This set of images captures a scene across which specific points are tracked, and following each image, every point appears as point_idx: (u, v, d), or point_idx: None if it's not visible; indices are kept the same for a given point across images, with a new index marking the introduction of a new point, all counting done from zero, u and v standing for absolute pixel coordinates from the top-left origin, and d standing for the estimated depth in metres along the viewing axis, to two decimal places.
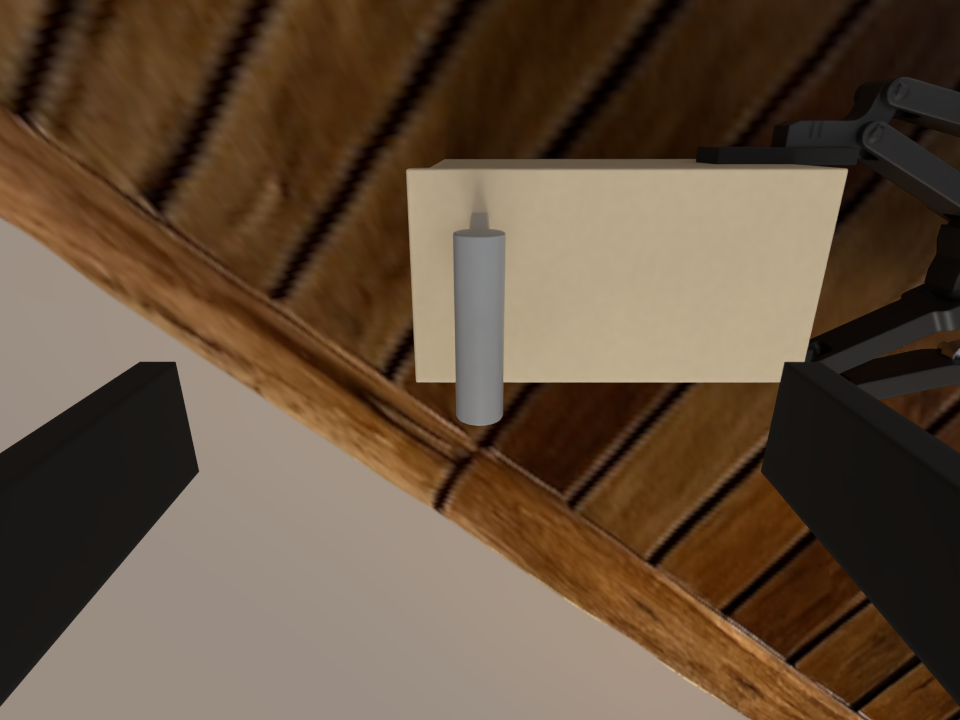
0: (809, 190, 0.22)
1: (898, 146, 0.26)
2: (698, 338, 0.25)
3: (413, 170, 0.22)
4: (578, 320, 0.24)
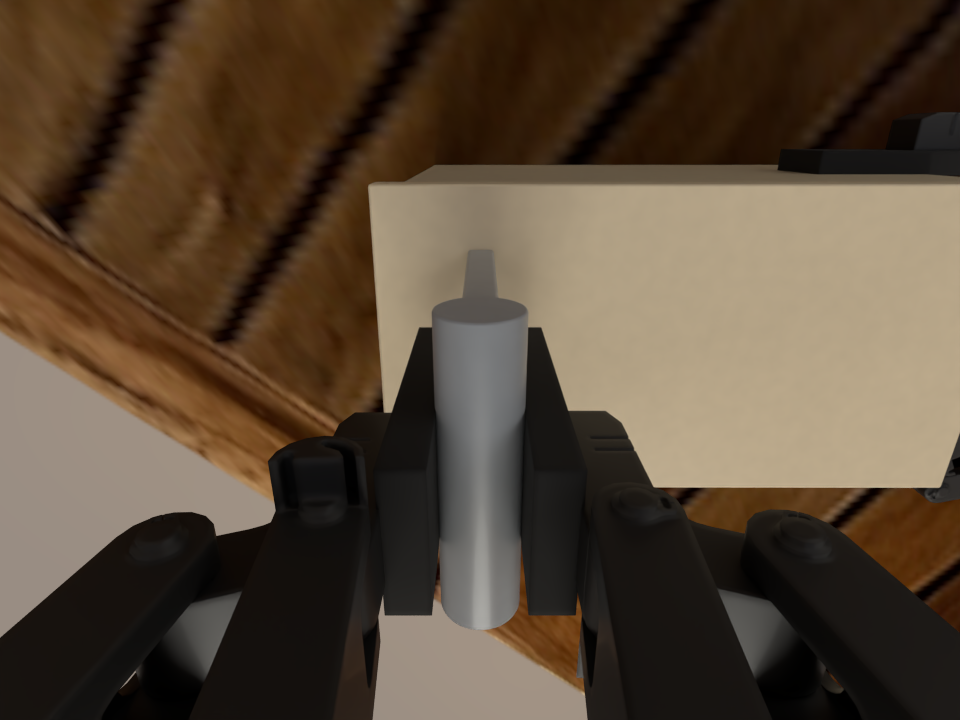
0: None
1: None
2: (799, 429, 0.17)
3: (379, 186, 0.14)
4: (626, 404, 0.17)
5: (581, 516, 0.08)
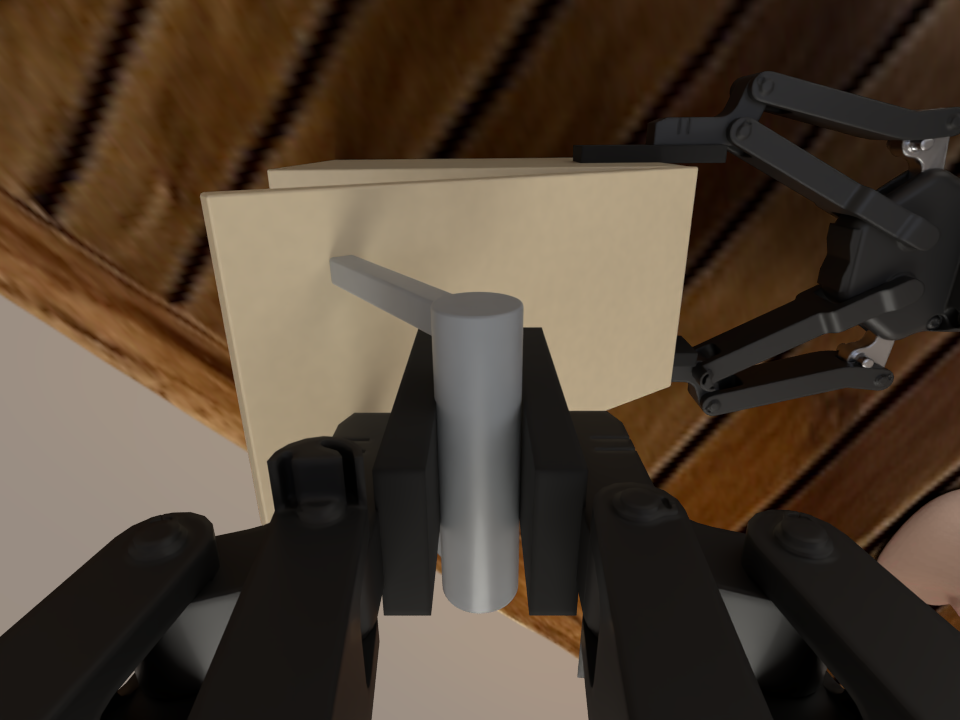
0: (673, 191, 0.21)
1: (768, 143, 0.25)
2: (595, 367, 0.22)
3: (221, 196, 0.12)
4: None
5: (582, 516, 0.08)
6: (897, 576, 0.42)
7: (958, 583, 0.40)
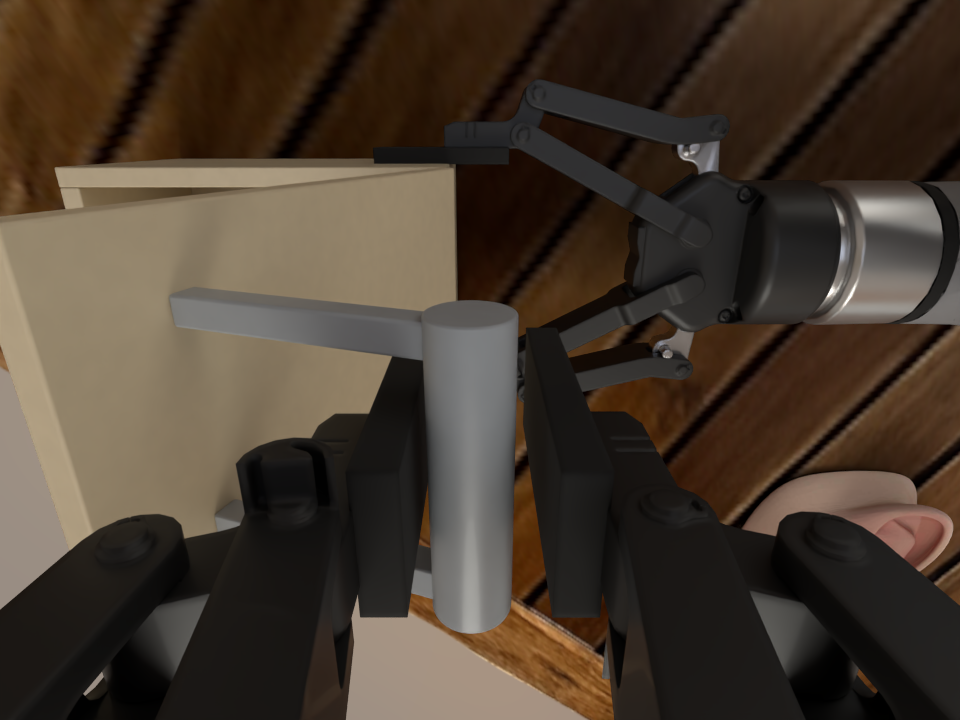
0: (441, 191, 0.23)
1: (547, 146, 0.27)
2: None
3: (17, 224, 0.08)
4: (327, 406, 0.17)
5: (608, 518, 0.08)
6: None
7: None
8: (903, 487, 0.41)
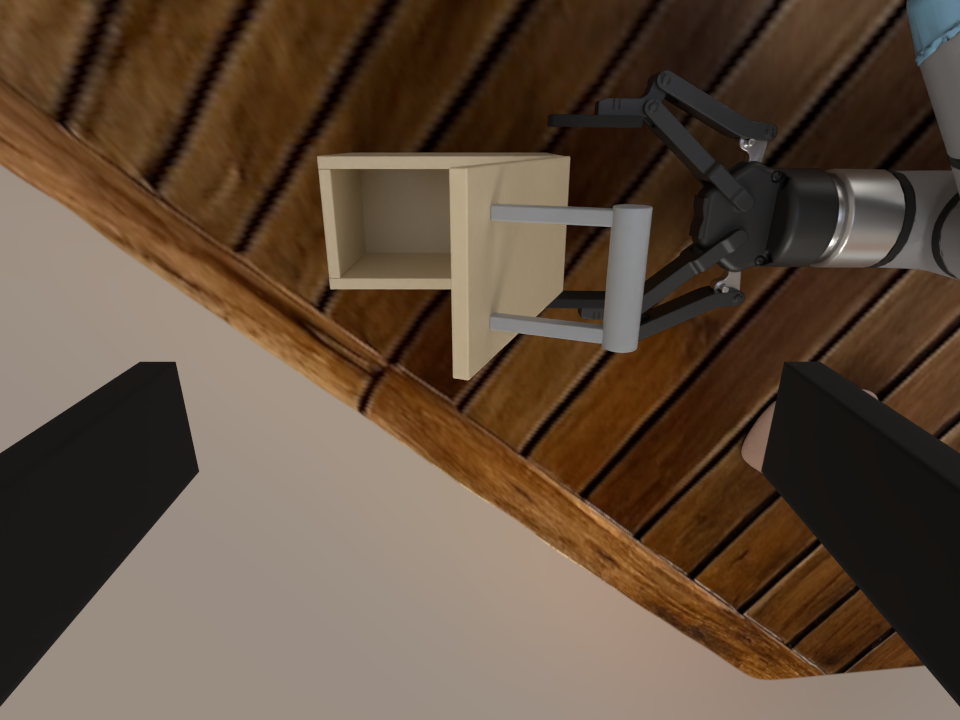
0: (564, 170, 0.37)
1: (666, 119, 0.40)
2: (545, 276, 0.36)
3: (470, 168, 0.23)
4: (520, 282, 0.31)
5: None
6: (755, 457, 0.58)
7: None
8: None
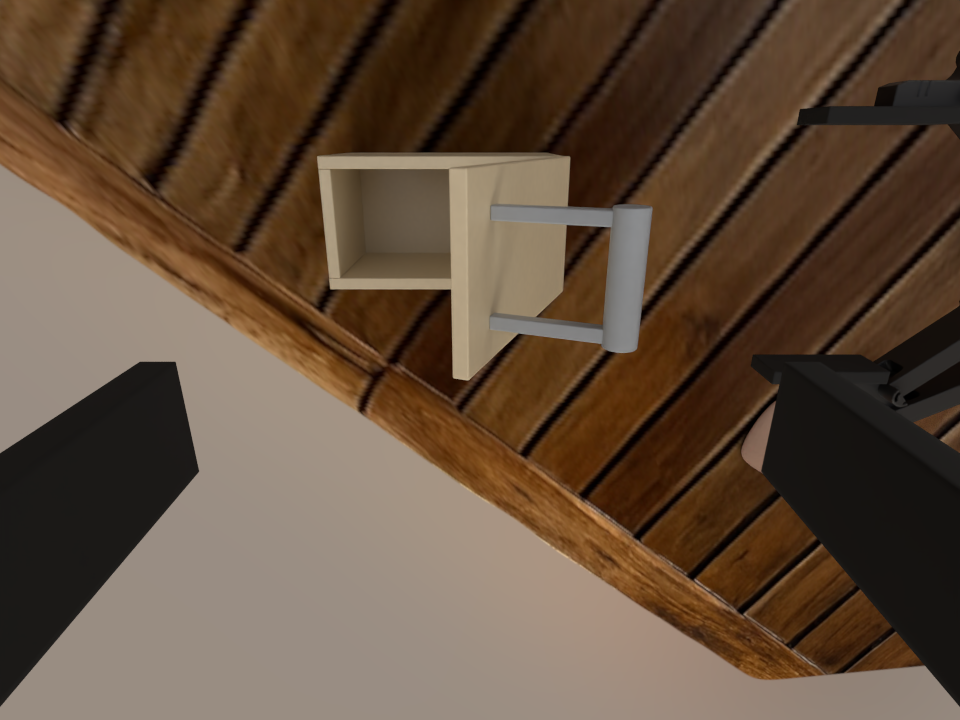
0: (564, 170, 0.37)
1: None
2: (545, 276, 0.36)
3: (470, 169, 0.23)
4: (519, 282, 0.31)
5: None
6: (755, 457, 0.58)
7: None
8: None
